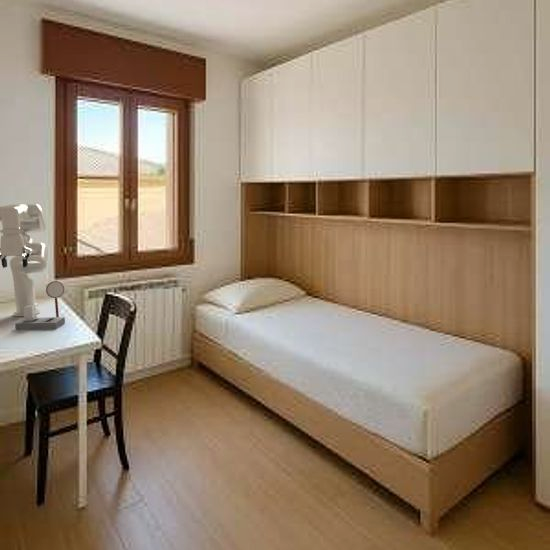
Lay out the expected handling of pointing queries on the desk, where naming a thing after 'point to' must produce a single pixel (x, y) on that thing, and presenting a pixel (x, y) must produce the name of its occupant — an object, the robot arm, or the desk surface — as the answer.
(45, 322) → the bore block
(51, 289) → the magnifying glass
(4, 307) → the desk surface
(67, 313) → the desk surface
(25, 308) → the square peg
